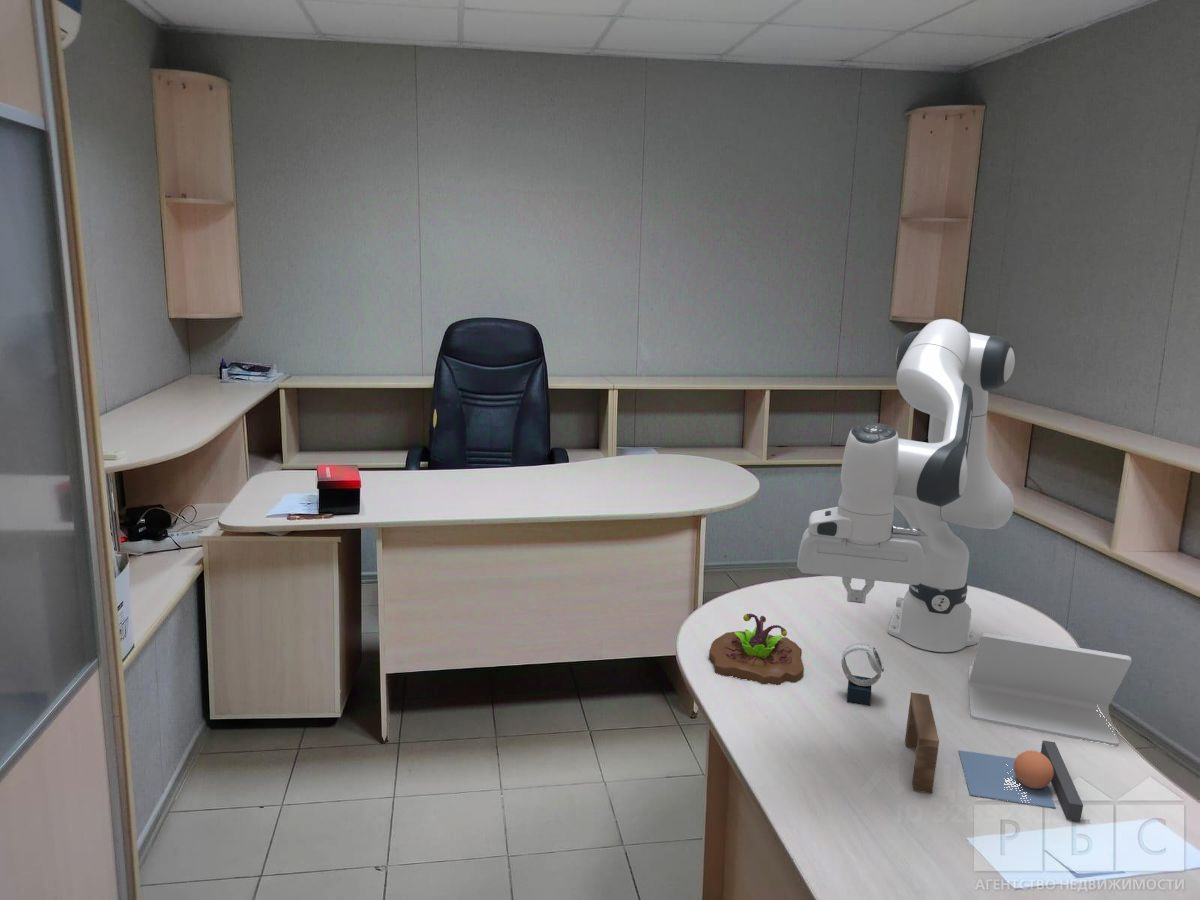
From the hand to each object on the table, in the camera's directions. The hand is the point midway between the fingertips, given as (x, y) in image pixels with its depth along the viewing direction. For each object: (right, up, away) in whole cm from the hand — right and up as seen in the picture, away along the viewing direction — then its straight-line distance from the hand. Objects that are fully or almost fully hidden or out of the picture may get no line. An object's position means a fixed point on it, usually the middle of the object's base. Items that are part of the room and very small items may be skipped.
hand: (855, 601), depth 150 cm
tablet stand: (+42, -25, +24) cm, 55 cm away
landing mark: (+26, -30, +2) cm, 40 cm away
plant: (-10, -20, +40) cm, 46 cm away
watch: (+8, -24, +26) cm, 36 cm away
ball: (+29, -28, -1) cm, 41 cm away
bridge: (+12, -29, +5) cm, 32 cm away
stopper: (+34, -31, 0) cm, 46 cm away
